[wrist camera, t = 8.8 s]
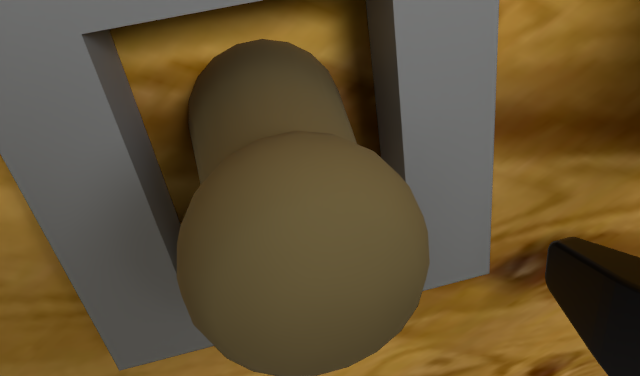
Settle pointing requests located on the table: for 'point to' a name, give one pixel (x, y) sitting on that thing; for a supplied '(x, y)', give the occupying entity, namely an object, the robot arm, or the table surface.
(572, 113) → the table surface
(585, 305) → the robot arm
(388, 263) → the brown pawn
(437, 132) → the socket plate
